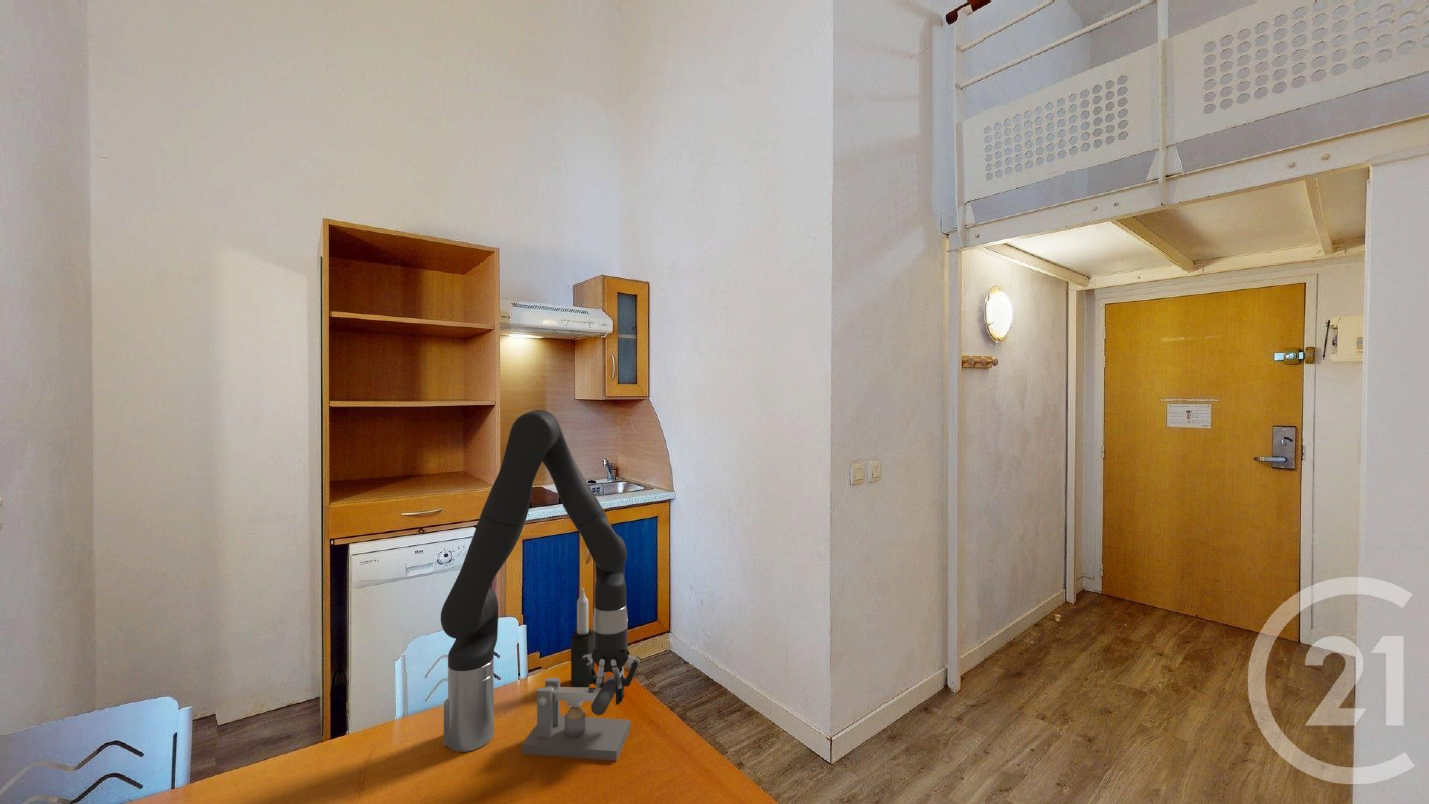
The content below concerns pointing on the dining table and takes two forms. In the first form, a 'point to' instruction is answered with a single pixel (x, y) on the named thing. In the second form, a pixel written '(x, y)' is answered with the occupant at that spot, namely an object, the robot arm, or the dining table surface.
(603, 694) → the lever
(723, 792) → the dining table surface
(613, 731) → the base
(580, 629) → the black and grey rod
